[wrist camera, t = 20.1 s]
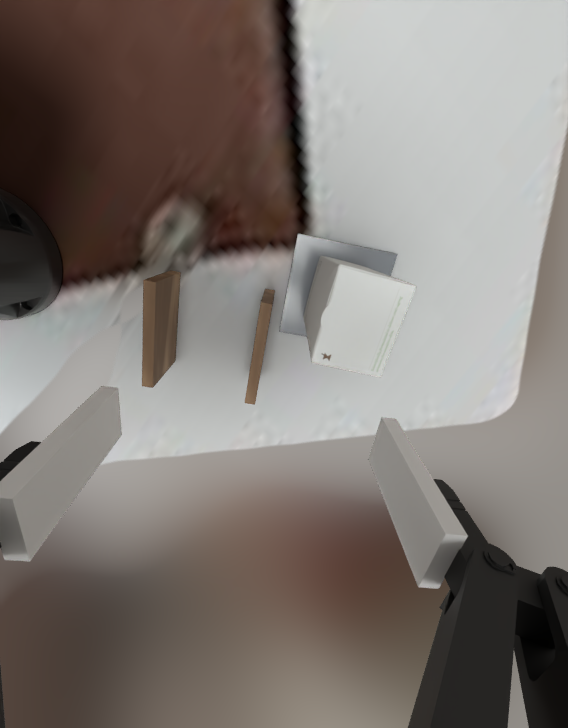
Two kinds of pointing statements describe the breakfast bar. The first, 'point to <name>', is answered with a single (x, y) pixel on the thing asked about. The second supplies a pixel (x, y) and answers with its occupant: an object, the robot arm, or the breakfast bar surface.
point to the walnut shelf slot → (163, 330)
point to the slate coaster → (305, 268)
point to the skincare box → (354, 316)
